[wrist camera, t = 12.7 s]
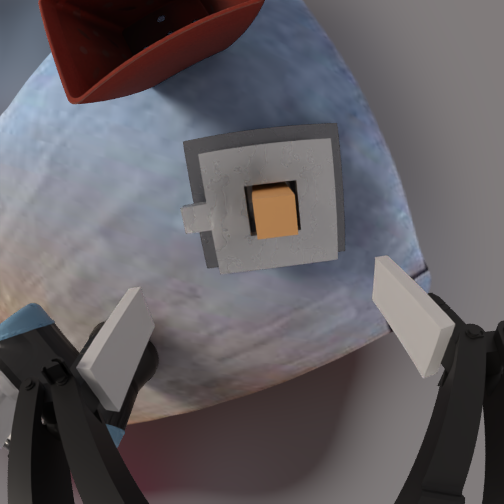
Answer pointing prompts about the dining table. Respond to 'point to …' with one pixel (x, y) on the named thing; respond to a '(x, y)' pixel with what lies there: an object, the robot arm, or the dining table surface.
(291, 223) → the orange rectangular block
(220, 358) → the dining table surface
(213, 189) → the tabbed square frame
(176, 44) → the plant pot
